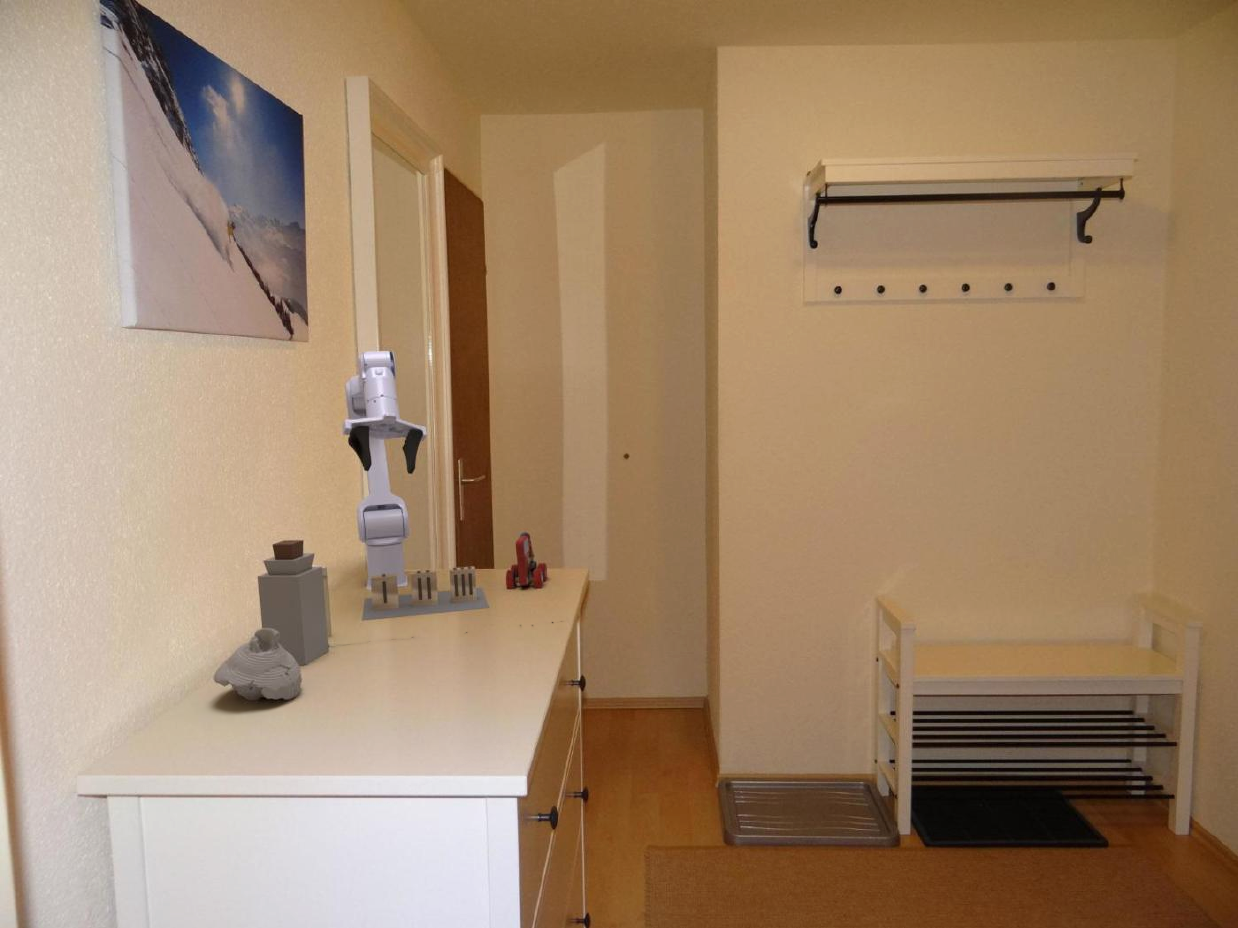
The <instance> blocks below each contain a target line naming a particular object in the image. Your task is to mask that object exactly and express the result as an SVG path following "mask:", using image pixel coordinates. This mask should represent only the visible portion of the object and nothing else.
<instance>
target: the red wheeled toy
mask: <svg viewBox="0 0 1238 928" xmlns="http://www.w3.org/2000/svg"><path fill="white" fill-rule="evenodd" d="M515 553H516V560H517V561H516V563H515V564H512V565H511V567H510V569H507V570H506V573H505V583H506V584H505V586H506V589H507V590H513V589H515V588H516V587H517V585H518V584H519V586H522V587H525V586H526V587H527V586H530V583H533V584H532V585H533V589H542V588H543V586H544V583H545V582H547V580H548V567H547V564H546V563H545V562H539V563H538V564H537V561H535V552H534V550H533V544H532V541H531V535H530V533H528V532H526V531H525V532H522V533H520V535H519V537H518V538H517V540H516V541H515Z"/></svg>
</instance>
